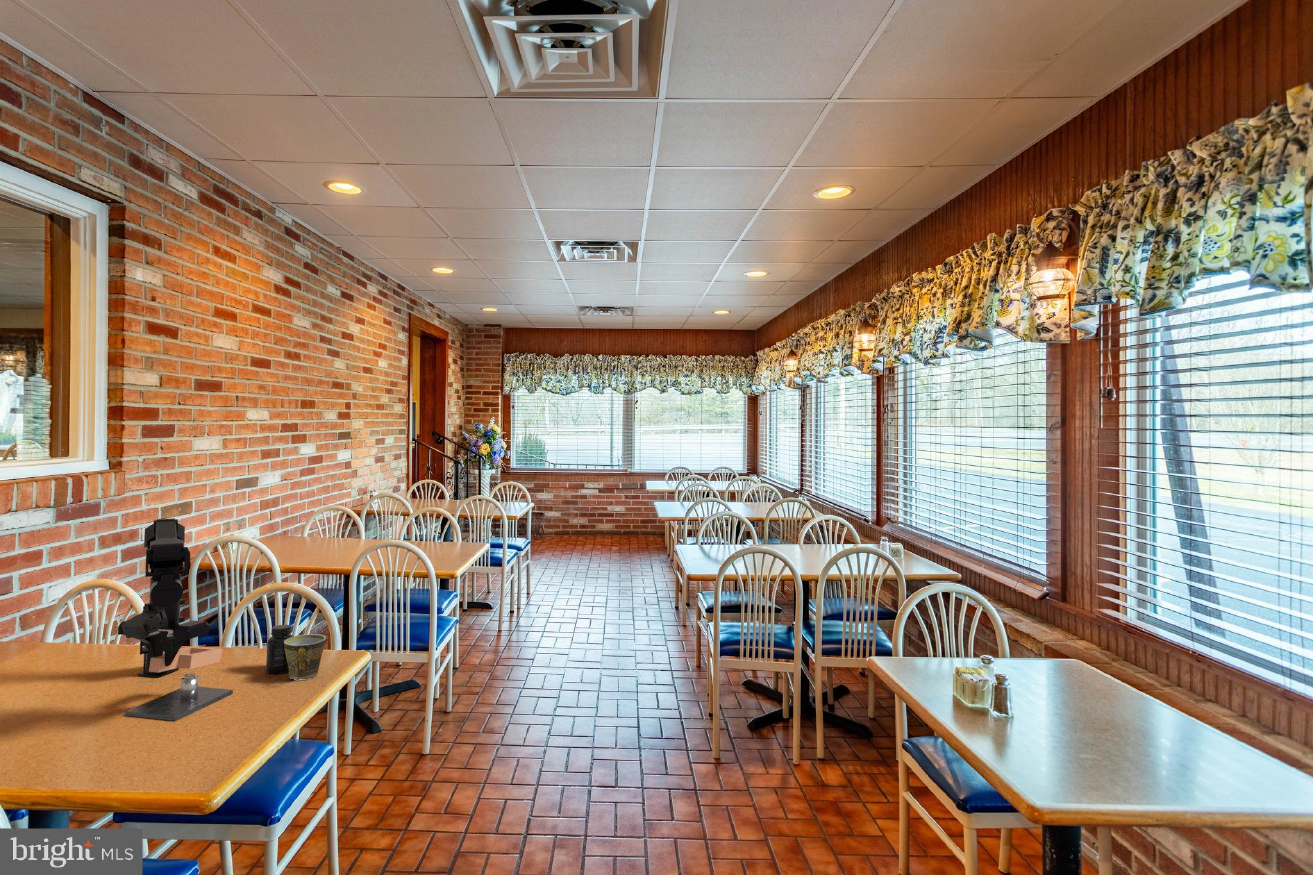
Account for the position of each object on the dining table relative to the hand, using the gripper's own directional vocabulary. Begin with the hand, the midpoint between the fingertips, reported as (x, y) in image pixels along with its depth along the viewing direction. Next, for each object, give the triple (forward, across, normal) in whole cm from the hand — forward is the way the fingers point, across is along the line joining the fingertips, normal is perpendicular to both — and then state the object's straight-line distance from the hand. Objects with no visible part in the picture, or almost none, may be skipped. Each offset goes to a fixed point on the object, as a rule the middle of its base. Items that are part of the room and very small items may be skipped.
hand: (162, 665), depth 147 cm
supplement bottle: (+11, +6, +30) cm, 33 cm away
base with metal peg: (+11, 0, +5) cm, 12 cm away
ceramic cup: (+11, +16, +26) cm, 33 cm away
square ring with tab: (+2, 0, +5) cm, 5 cm away
